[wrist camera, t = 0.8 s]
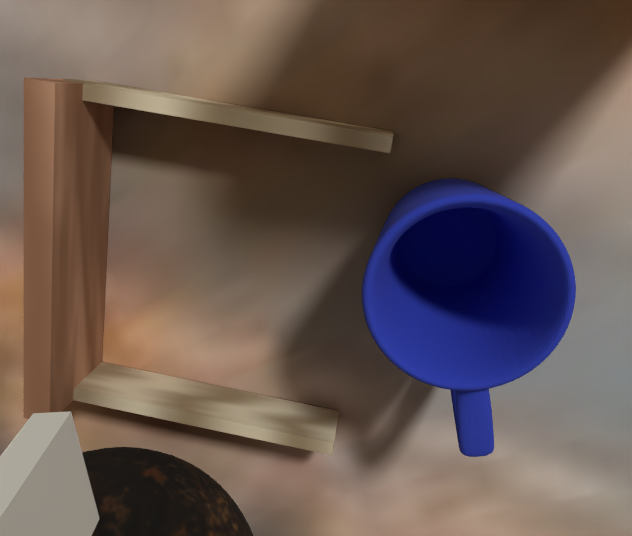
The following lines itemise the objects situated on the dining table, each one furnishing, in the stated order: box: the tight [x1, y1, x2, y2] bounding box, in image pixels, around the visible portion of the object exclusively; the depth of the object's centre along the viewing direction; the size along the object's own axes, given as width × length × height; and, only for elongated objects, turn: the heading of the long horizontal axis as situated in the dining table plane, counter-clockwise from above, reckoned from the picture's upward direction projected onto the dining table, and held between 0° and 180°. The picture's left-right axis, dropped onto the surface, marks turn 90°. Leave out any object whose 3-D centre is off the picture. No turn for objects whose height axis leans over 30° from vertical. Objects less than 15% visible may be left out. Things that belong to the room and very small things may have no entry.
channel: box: [24, 78, 393, 455], centre depth 32 cm, size 17×18×6 cm
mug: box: [362, 178, 576, 457], centre depth 28 cm, size 8×12×10 cm
